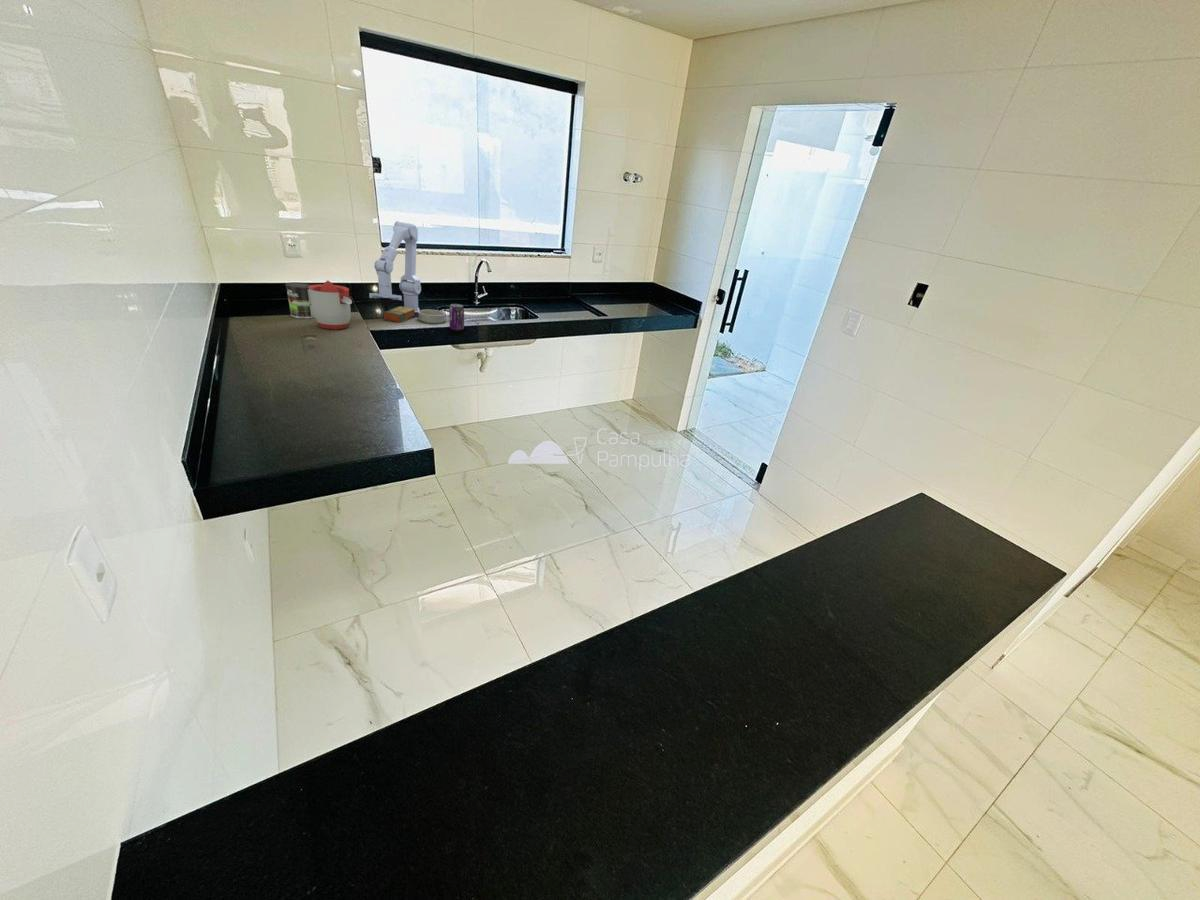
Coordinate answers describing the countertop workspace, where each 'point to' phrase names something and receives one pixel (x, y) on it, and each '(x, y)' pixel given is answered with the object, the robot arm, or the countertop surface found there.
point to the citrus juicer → (330, 305)
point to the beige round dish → (431, 316)
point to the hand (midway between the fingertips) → (386, 313)
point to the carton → (399, 314)
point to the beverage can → (456, 317)
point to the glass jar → (299, 300)
